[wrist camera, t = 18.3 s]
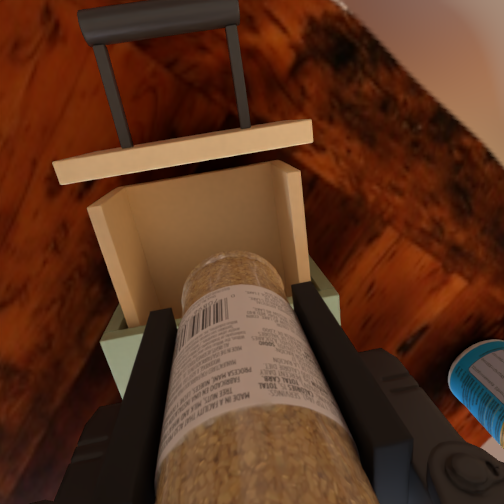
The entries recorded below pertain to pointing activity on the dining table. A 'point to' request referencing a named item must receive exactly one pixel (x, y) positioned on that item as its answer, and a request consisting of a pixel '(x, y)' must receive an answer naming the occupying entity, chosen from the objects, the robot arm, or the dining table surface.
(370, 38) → the dining table surface
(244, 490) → the spice jar
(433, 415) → the robot arm
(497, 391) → the beverage bottle
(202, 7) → the drawer
